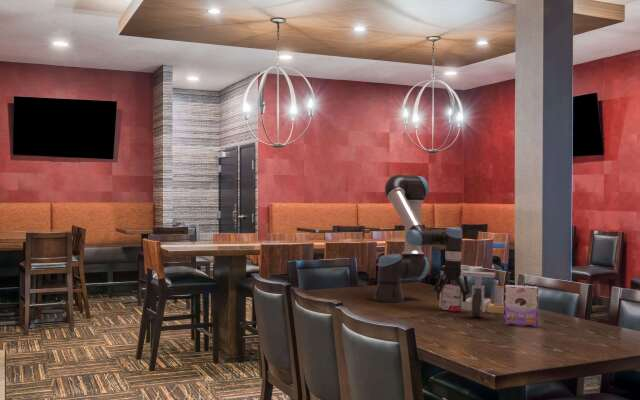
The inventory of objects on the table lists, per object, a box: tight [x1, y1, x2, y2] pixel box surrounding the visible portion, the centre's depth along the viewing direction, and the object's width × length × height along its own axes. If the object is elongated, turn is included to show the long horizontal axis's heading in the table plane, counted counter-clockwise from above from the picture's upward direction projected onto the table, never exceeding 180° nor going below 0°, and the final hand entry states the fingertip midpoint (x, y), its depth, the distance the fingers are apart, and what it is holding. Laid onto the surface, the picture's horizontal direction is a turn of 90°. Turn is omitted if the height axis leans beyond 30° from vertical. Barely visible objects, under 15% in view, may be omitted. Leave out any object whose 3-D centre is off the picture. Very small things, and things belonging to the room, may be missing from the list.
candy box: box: [503, 284, 539, 328], centre depth 292 cm, size 14×6×16 cm, turn 71°
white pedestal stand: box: [460, 270, 496, 318], centre depth 309 cm, size 14×10×20 cm
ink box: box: [440, 283, 463, 312], centre depth 325 cm, size 8×5×12 cm, turn 39°
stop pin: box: [493, 285, 505, 306], centre depth 327 cm, size 4×4×12 cm
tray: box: [462, 296, 492, 313], centre depth 333 cm, size 16×10×4 cm, turn 157°
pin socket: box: [486, 303, 504, 315], centre depth 327 cm, size 9×9×3 cm
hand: (451, 307), depth 325 cm, fingers closed on ink box, 9 cm apart
